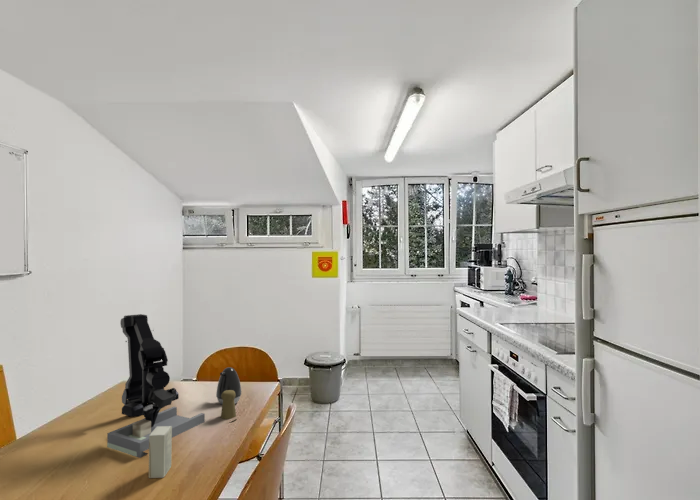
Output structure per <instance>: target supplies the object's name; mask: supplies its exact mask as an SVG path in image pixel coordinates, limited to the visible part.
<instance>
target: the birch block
mask: <svg viewBox="0 0 700 500" xmlns="http://www.w3.org/2000/svg"><path fill="white" fill-rule="evenodd" d="M139 420H140V421H139ZM139 420H137V421H138V422H137V421H134V422H135V423H134V422H132V423H133V436H137V437H140V438H141V437H143V436H145V435H147V434H150V433H151V421H149V420H145V419H144V418H141V419H139Z"/></svg>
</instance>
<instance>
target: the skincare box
mask: <svg viewBox="0 0 700 500" xmlns="http://www.w3.org/2000/svg"><path fill="white" fill-rule="evenodd" d="M172 439H173V437H172V426H157V427H156V428H155V429H154V430H153V431H152V433H151V434H150V435H149V449H148V479H156V478H158V479H161V478H163V479H164V478H165V476H167V473H168V472H169V471H170V470H171V467H172V449H173V448H172V442H173V441H172Z"/></svg>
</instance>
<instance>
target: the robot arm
mask: <svg viewBox="0 0 700 500" xmlns="http://www.w3.org/2000/svg"><path fill="white" fill-rule="evenodd" d="M148 321H149V320H148V315H147V314H141V313H140V314H128V315H124V316H123V318H121V319H120V327H121V329H122V333H123V334H124V335H125V336H124V337H126V338H127V349H128V350H127V353H128V369H129V371H128V374H129V377H128V378H127V381H126V382H125V385H124V390H123V392H122V394H121V402H122V404H123V406H122V407H121V415H125V416H127V417H129V418H132V417H134V418H135V417H136V418H137V417H138V418H139V417H142V416H144V418H145V419H146V420H149V421H151V427H153V426H154V424H155V421H156V418H157V415H158V413H159V412H161V410H162V409H163V408H165V407H167V406H170V405H172V402H175V401H176V400H179V396H180V395H179V392H178V391H177V389H176V388H175V387H172V388H169V389H165V387H167V386H168V385H169V383H170V379H171V378H170V375H169V373H168V372H167V371H165V369H164V367H165V366H168V362H169V361H168V356H167V353H166V350H165V348H164V347H163V346H162V343H161V342H160V341H158V340H157V339H156V338H154V335H153V332H152V330H151V327H150V324H149V322H148Z"/></svg>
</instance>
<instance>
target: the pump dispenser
mask: <svg viewBox="0 0 700 500" xmlns="http://www.w3.org/2000/svg"><path fill="white" fill-rule="evenodd" d="M219 375H220V376H219V379H218V382H217V387H216V392H215V394H216V398H217V399H216V400H217V402H218V403H219V404H220V405H222V404H223V400H222V398H221V395H222V393H223V392H224V391H226V390H233V391H235V394H236V396H235V399H234V403H235V405H236V404H237V403H238V402H239V400H240V398H241V395H242V386H241V381H240V378H239V375H238V373H237V371H236V370H235V368H233V367H231V366H230V367H229V366H228V367H226V368H224V369H223V371H222V372H220V373H219Z"/></svg>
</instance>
